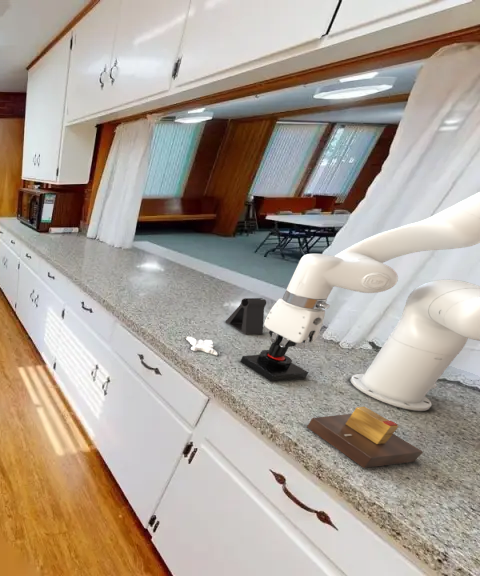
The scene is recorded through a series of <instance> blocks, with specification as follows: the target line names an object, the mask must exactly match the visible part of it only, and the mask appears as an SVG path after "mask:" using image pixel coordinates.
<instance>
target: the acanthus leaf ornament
mask: <svg viewBox="0 0 480 576" xmlns="http://www.w3.org/2000/svg"><path fill="white" fill-rule="evenodd" d="M186 341H188V343H189V344H190V345H191V347H190V350H191V351H194V352H196V351H197V352H198V351H201V352H205V353H207V354H211V355H214V356H218V355H219V353H218V352H217V350H215V349H214V342H213V340H212V339H204V340H203V339H199V340H197V339H196V338H195V337H192V336H186Z"/></svg>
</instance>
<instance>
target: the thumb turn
mask: <svg viewBox="0 0 480 576" xmlns="http://www.w3.org/2000/svg"><path fill="white" fill-rule="evenodd" d="M351 414H352V415H351V416H350V418H349V419H348V421H347V422H346V425H348V426H349V427H351V428H352V429H354V430H355V431H357V432H359V433H360V434H362V435H363V436H365V437H366V438H368V439H369V440H371V441H373V442H374V443H376V444H385V443H386V442H387V441H388V439H389V438H390V437H391V436H392V434H394V433H395V432H396V430H397V429H398V428H399V427H400V426H399V425H398V423H396V422H395V421H393V420H389V419H388V418H386V417H384V416H383V415H381V414H378V413H376V412H375V411H373V410H371V409H370V408H369V407H366V406H357V407H355V409H354V411H353V412H352V413H351Z"/></svg>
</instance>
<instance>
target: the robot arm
mask: <svg viewBox="0 0 480 576" xmlns="http://www.w3.org/2000/svg"><path fill="white" fill-rule="evenodd" d="M478 244H480V191H478V192H476V193H474V194H472V195H470V196H468V197H466V198H464V199H463V200H461V201H459V202H457V203H455V204H453V205H451V206H449V207H447V208H445V209H443V210H441V211H439V212H437V213H435V214H433V215H431V216H429V217H427V218H425V219H422V220H419V221H415V222H412V223H408V224H404V225H402V226H398V227H396V228H392V229H389V230H386V231H381V232H380V233H376V234H374V235H372V236H369V237H367V238H365V239H363V240H360V241H359V242H356V243H354V244H353V245H351V246H349V247H347V248H345V249H344V250H342V251H340V252H339V253H337V254H336V255H330V254H326V253H325V254H324V253H307V254H304V255H303V256H302V257H301V258H300V260H299V261H298V263H297V266H296V268H295V270H294V272H293V275H292V276H291V278H290V281H289V283H288V285H287V287H286V288H285V291H284V294H283V295H282V297H279V298H278V300H277V301H276V302H275V303H274V305H272V307H271V308H270V310H269V312H268V314H267V316H266V317H265V319H264V321H263V331H265V332H266V333H268V334H269V336H270V342H271V343H270V344H271V345H270V346H269V348H268V350H269V352H268V354H269V355H271V356H272V357H283V356H284V355H286V353H287V352H288V350H289V348H292V347H295V348H298V349H303V350H304V349H305V350H306V349H308V348H309V345H310V343H315V341H316V340H317V338H318V336H319V334H320V332H321V330H322V328H323V327H322V326H323V324H324V321H325V317H326V316H325V315H326V310H328V309H330V306H331V305H330V304H328V303H327V301H328V298H329V296H330V294H331V292H332V290H333V289H334V288H340V289H344V290H348V291H353V292H358V293H364V294H378V293H383V292H385V291H388V290H391V289H392V288H394V287H395V286H396V285H397V282H398V281H399V276H398V273H397V272H396V271H395V270H394V268H392V267H391V266H389V265H387V264H385V263H386V262H388V261H391V260H393V259H395V258H399V257H402V256H405V255H410V254H413V253H414V254H415V253H420V252H427V251H429V252H431V251H443V250H444V251H445V250H455V249H463V248H464V249H465V248H469V247H473V246H476V245H478ZM468 339H469V340H472V341H478V342H480V285H478V284H475V283H471V282H468V281H464V280H459V279H450V278H449V279H448V278H447V279H445V278H444V279H435V280H431V281H428V282H424V283H422V284H420V285H418V286H416V287H415V288H414V289H413V290H411V292H410V293H409V295H408V296H407V299H406V301H405V304H404V307H403V311H402V313H401V316H400V318H399V320H398V322H397V323H396V325H395V327H394V328H393V330H392V331H391V333H390V334H389V335H388V337H387V339H386V340H385V342H384V344H383V345H382V347H381V348H380V349H379V351H378V352H377V354H376V355H375V357H374V359H373V360H372V362H371V363H370V365H369V366H368V368H367V369H366V371H365V372H364V373H355V374H353V375H352V376H351V377H350V380H349V381H350V382H351V384H352V385H353V386H354V387H355V388H356V389H357V390H358V391H360V392H361V393H364V394H365V395H367V396H369V397H371V398H373V399H375V400H378V401H379V402H383V403H385V404H387V405H390V406H393V407H396V408H400V409H403V410H409V411H415V412H416V411H417V412H424V411H428V410H430V408H431V407H432V406H433V404H432V401H431V400H430V399H429V398H428V397H427V394H428V393H429V392H430V390H433V389H434V390H435V389H437V388H438V384H437V382H438V380H439V379H440V378H441V376H443V374H444V372H445V371H446V370H447V369H448V368H449V366H450V365H451V364H452V362H453V361H454V360H455V359H456V357H457V356H458V355H460V353H461V351H463V349H464V348H465V346H466V344H467V342H468Z"/></svg>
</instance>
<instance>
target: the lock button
mask: <svg viewBox="0 0 480 576" xmlns="http://www.w3.org/2000/svg"><path fill="white" fill-rule="evenodd" d="M268 356H269V357H271V358H273V359H275V360H279V361H284V360H285V357H272V356H271V355H269V354H268Z"/></svg>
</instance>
